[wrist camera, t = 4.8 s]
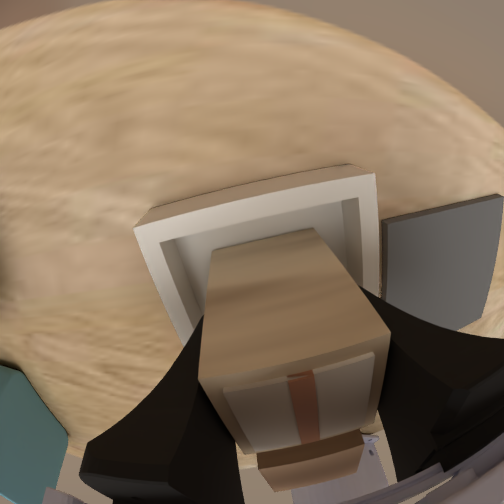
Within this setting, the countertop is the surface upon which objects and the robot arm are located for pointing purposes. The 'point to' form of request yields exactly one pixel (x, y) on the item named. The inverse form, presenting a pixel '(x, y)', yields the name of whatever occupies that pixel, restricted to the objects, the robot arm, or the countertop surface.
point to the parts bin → (259, 231)
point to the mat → (442, 260)
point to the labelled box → (289, 344)
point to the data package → (27, 441)
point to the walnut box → (312, 461)
